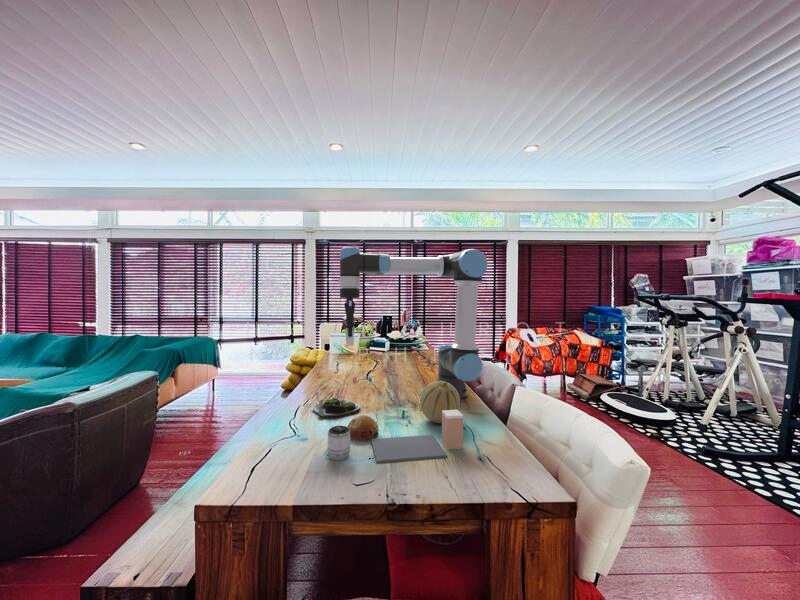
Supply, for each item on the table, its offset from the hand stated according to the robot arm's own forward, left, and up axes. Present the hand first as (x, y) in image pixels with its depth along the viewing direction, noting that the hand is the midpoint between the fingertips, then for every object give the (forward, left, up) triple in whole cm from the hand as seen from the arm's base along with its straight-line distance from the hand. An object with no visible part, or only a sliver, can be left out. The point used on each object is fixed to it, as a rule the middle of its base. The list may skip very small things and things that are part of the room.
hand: (349, 342), depth 131 cm
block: (-30, +34, -27) cm, 53 cm away
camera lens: (+4, +35, -27) cm, 44 cm away
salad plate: (+5, -3, -28) cm, 28 cm away
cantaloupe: (-32, +15, -27) cm, 44 cm away
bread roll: (-4, +22, -27) cm, 35 cm away
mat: (-16, +34, -27) cm, 46 cm away
